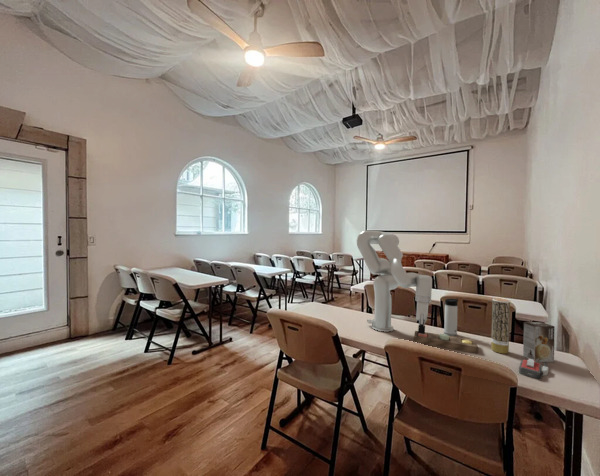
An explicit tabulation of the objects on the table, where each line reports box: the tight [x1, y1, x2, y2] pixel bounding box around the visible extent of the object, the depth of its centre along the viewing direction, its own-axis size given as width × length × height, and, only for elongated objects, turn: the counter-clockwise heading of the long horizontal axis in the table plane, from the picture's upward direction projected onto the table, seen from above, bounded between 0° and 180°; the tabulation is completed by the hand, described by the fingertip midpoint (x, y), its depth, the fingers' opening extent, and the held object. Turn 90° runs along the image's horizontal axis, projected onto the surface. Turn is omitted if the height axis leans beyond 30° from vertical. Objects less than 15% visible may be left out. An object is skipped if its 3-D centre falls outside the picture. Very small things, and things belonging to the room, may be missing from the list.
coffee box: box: [522, 321, 556, 363], centre depth 125 cm, size 9×6×16 cm
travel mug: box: [443, 298, 459, 337], centre depth 155 cm, size 6×7×20 cm
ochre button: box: [462, 340, 472, 344], centre depth 136 cm, size 4×4×3 cm
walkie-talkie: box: [518, 358, 550, 380], centre depth 114 cm, size 9×4×20 cm
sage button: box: [439, 333, 449, 341], centre depth 140 cm, size 4×4×3 cm
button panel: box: [413, 330, 479, 354], centre depth 140 cm, size 28×10×3 cm, turn 64°
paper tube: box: [490, 297, 511, 355], centre depth 132 cm, size 7×7×25 cm
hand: (421, 332), depth 145 cm, fingers closed
